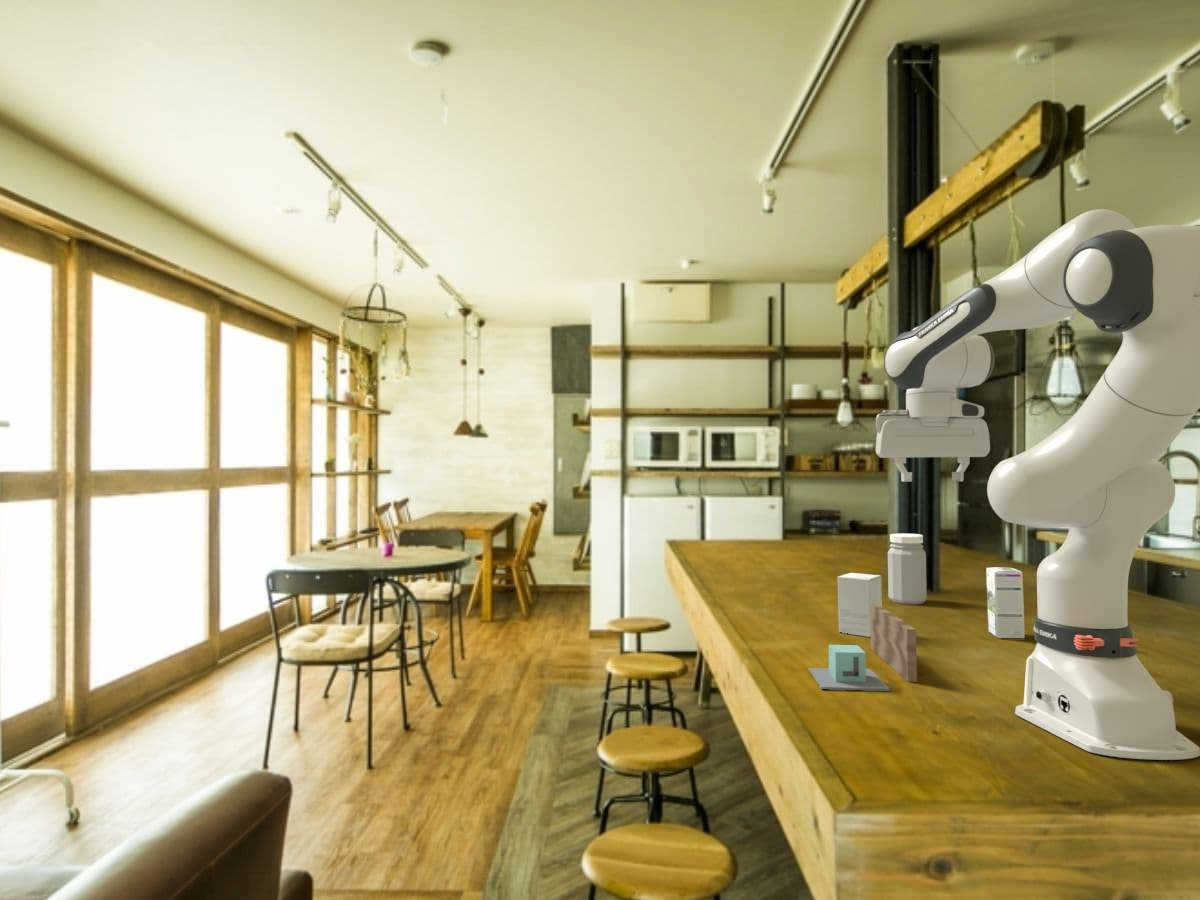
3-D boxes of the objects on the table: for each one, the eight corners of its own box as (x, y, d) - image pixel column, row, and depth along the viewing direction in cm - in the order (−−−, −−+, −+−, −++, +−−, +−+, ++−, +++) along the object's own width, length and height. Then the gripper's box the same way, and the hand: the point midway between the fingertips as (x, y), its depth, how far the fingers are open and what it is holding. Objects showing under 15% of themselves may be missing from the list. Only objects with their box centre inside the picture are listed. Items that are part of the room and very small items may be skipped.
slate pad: (889, 691, 117) (889, 688, 117) (821, 690, 118) (821, 687, 118) (870, 671, 128) (870, 669, 128) (808, 670, 129) (808, 668, 129)
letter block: (866, 682, 121) (865, 652, 121) (836, 682, 121) (835, 652, 121) (858, 673, 126) (857, 645, 126) (829, 673, 126) (828, 644, 126)
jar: (892, 604, 188) (891, 536, 188) (884, 597, 198) (883, 532, 198) (932, 605, 186) (930, 536, 187) (921, 598, 196) (920, 533, 196)
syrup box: (1025, 639, 150) (1024, 571, 150) (995, 638, 151) (994, 570, 152) (1015, 633, 156) (1014, 567, 156) (986, 632, 157) (985, 566, 157)
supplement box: (883, 631, 158) (882, 575, 159) (870, 638, 153) (869, 579, 153) (851, 626, 163) (850, 571, 164) (837, 632, 158) (836, 575, 158)
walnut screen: (916, 681, 122) (915, 629, 123) (907, 681, 122) (906, 629, 123) (878, 648, 144) (877, 604, 144) (870, 648, 144) (870, 604, 145)
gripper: (880, 409, 134) (881, 482, 134) (993, 407, 132) (994, 481, 132) (870, 411, 141) (871, 481, 140) (978, 409, 139) (979, 480, 138)
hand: (932, 481), depth 136 cm, fingers open, 8 cm apart
